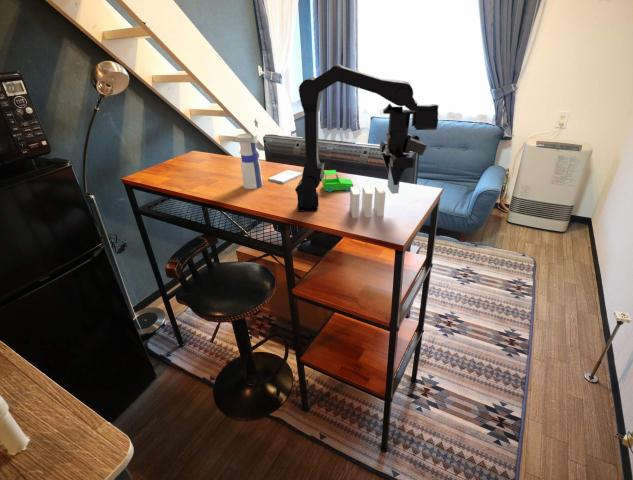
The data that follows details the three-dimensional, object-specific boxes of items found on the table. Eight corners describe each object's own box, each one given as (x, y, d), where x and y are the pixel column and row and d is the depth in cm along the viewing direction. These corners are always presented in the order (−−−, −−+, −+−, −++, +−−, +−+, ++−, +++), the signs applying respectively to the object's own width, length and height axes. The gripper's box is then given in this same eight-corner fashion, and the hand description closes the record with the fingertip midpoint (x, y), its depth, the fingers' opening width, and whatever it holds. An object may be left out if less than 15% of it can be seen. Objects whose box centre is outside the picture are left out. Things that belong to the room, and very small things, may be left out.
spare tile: (391, 193, 105) (394, 168, 101) (387, 186, 110) (389, 162, 106) (398, 193, 105) (400, 168, 101) (393, 186, 110) (396, 161, 106)
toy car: (324, 193, 127) (324, 175, 124) (321, 186, 133) (321, 169, 130) (353, 191, 128) (354, 174, 125) (350, 184, 134) (350, 168, 131)
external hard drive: (268, 181, 140) (287, 173, 149) (283, 185, 136) (302, 176, 144) (267, 177, 139) (287, 169, 148) (283, 181, 135) (302, 172, 144)
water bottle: (252, 180, 140) (244, 116, 128) (268, 184, 136) (261, 118, 123) (237, 186, 135) (227, 120, 122) (253, 190, 130) (244, 122, 118)
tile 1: (352, 217, 109) (353, 194, 105) (349, 209, 114) (350, 187, 110) (358, 217, 109) (359, 194, 105) (355, 209, 114) (356, 186, 110)
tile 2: (364, 217, 109) (366, 193, 105) (361, 209, 114) (362, 186, 110) (371, 217, 109) (372, 193, 105) (367, 208, 114) (369, 186, 110)
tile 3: (377, 216, 109) (379, 193, 105) (373, 208, 114) (375, 186, 110) (383, 216, 109) (385, 193, 105) (379, 208, 114) (381, 185, 110)
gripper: (437, 136, 91) (428, 191, 99) (416, 121, 107) (410, 170, 115) (395, 138, 90) (390, 193, 98) (380, 123, 106) (377, 171, 114)
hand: (393, 181), depth 106 cm, fingers closed on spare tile, 6 cm apart
